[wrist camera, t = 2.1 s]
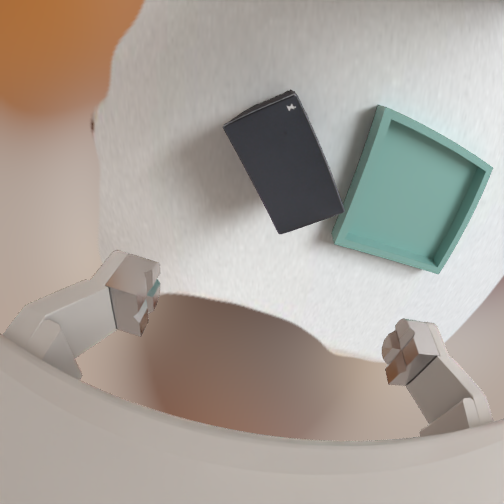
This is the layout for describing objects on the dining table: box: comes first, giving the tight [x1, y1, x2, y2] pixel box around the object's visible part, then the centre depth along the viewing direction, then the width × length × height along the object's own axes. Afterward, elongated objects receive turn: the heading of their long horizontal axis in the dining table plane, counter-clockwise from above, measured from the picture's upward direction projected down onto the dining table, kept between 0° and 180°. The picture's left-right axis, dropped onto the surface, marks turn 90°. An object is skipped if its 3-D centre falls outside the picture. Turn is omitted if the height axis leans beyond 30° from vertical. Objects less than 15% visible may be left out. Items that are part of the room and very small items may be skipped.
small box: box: [223, 90, 345, 234], centre depth 25 cm, size 11×6×10 cm, turn 26°
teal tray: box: [332, 105, 493, 274], centre depth 29 cm, size 17×17×3 cm
